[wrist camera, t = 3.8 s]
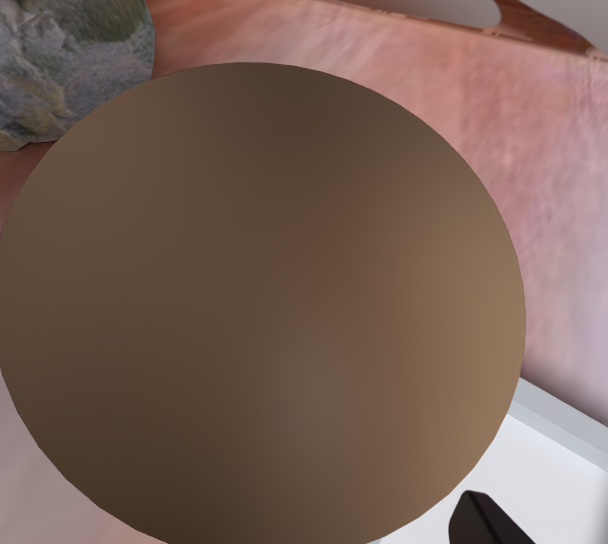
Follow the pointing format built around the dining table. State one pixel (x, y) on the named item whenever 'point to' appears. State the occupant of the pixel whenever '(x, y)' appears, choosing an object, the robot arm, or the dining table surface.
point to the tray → (534, 476)
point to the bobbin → (259, 309)
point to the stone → (67, 62)
